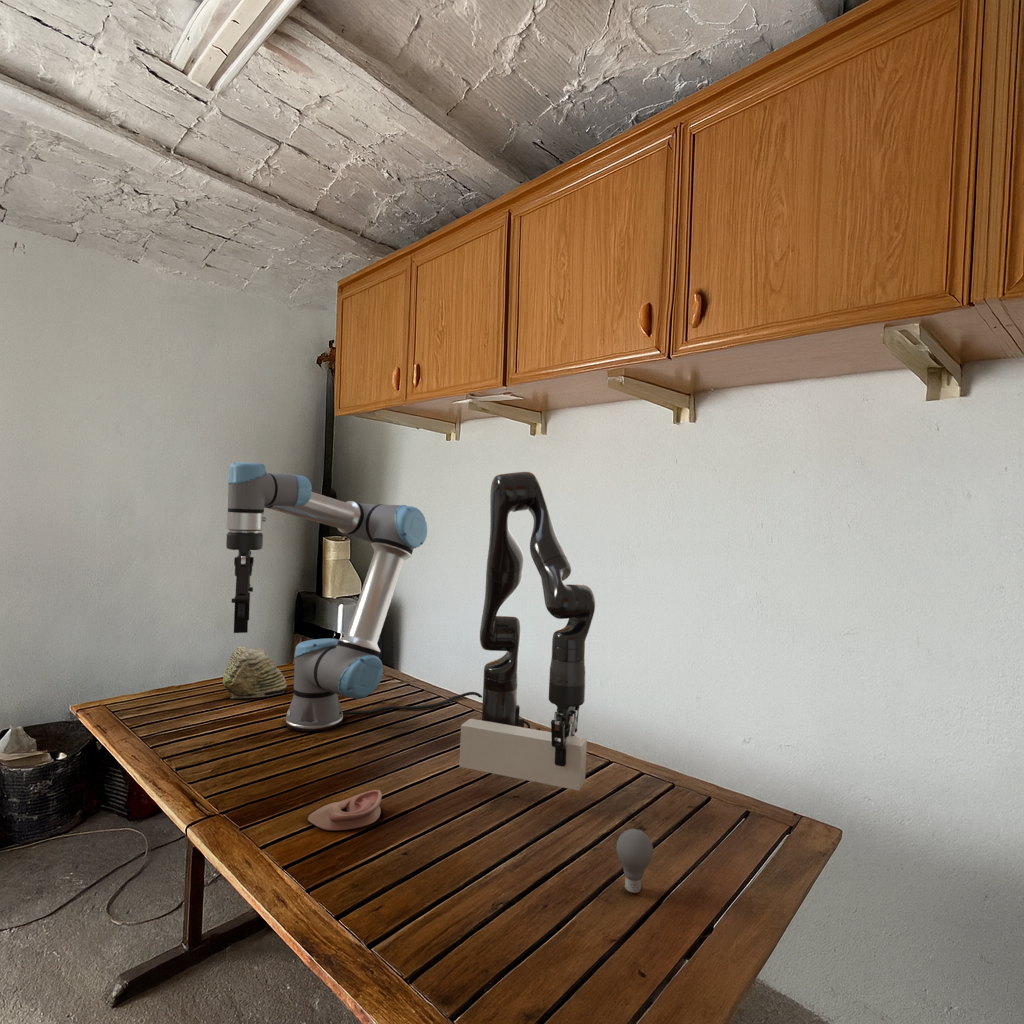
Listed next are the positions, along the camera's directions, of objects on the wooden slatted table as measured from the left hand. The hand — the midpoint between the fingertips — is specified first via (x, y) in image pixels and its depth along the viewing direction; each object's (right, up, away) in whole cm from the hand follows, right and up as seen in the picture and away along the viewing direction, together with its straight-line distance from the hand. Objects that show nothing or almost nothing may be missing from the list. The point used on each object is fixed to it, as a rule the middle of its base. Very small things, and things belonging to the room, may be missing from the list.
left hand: (241, 626), depth 142 cm
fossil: (-20, -32, +56) cm, 67 cm away
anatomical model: (+27, -35, -16) cm, 47 cm away
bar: (+63, -31, -6) cm, 70 cm away
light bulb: (+81, -38, -36) cm, 96 cm away
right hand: (+71, -26, -9) cm, 77 cm away
